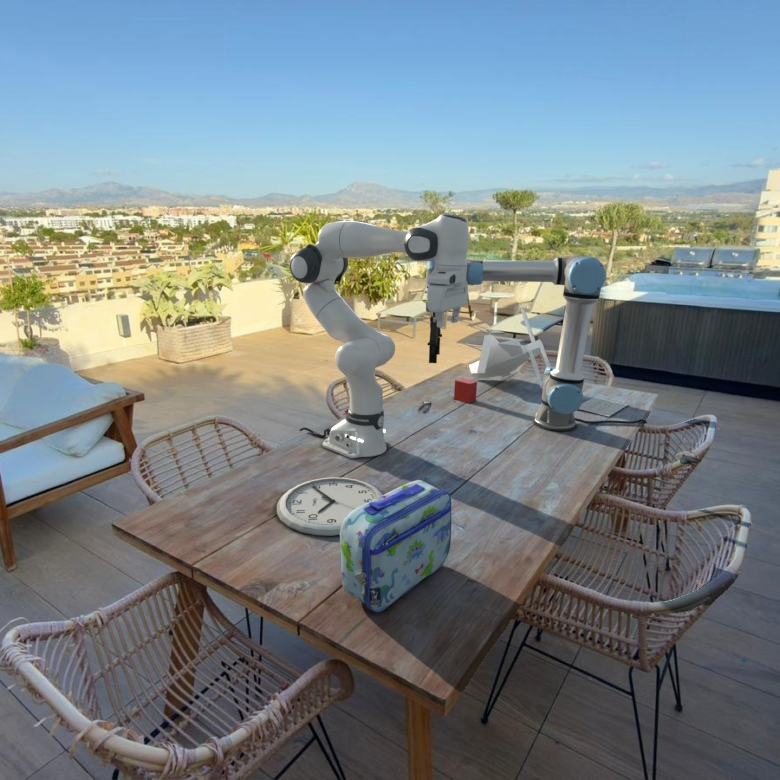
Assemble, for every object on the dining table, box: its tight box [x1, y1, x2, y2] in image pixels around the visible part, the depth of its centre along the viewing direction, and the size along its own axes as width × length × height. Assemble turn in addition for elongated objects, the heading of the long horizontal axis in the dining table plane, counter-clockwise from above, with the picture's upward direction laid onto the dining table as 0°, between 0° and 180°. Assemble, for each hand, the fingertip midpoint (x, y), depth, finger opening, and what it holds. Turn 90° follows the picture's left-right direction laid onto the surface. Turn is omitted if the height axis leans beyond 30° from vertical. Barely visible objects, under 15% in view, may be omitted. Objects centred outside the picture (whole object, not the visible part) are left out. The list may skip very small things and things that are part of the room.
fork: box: [418, 396, 432, 411], centre depth 223 cm, size 3×16×2 cm, turn 160°
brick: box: [453, 377, 478, 404], centre depth 231 cm, size 5×8×9 cm
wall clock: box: [276, 476, 385, 537], centre depth 142 cm, size 30×2×30 cm
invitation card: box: [578, 396, 629, 418], centre depth 226 cm, size 21×1×15 cm
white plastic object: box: [468, 307, 551, 391], centre depth 255 cm, size 37×45×31 cm
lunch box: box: [339, 479, 452, 613], centre depth 109 cm, size 26×11×21 cm, turn 134°
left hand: (447, 324), depth 150 cm, fingers open, 8 cm apart
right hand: (434, 358), depth 193 cm, fingers open, 13 cm apart
